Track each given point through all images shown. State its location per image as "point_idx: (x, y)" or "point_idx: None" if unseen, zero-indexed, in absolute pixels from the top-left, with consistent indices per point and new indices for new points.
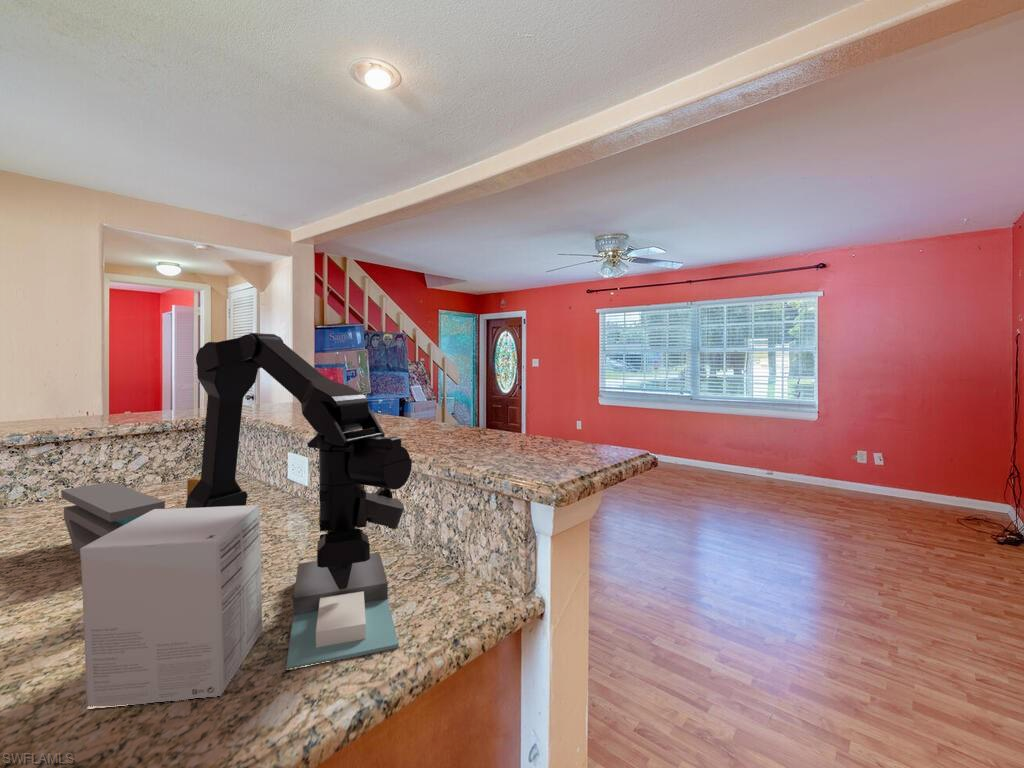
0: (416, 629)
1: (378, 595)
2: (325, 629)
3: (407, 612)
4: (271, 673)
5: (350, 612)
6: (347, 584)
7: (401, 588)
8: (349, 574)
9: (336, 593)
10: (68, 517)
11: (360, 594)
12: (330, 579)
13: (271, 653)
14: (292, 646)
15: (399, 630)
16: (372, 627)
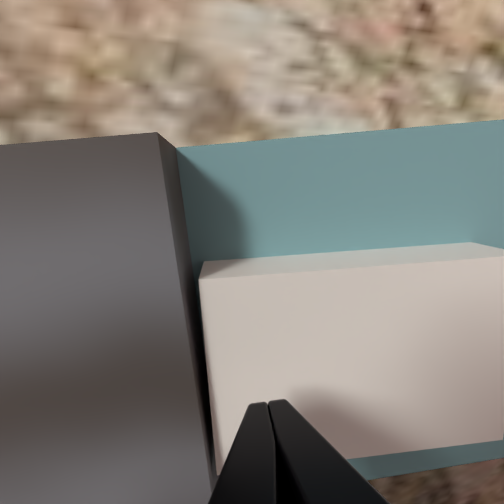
0: (448, 29)
1: (177, 195)
2: (501, 409)
3: (297, 57)
4: (496, 476)
5: (402, 328)
6: (297, 413)
7: (35, 66)
8: (359, 473)
9: (200, 414)
10: None
11: (234, 295)
12: (44, 475)
13: (405, 499)
14: (422, 463)
15: (428, 107)
16: (407, 219)
